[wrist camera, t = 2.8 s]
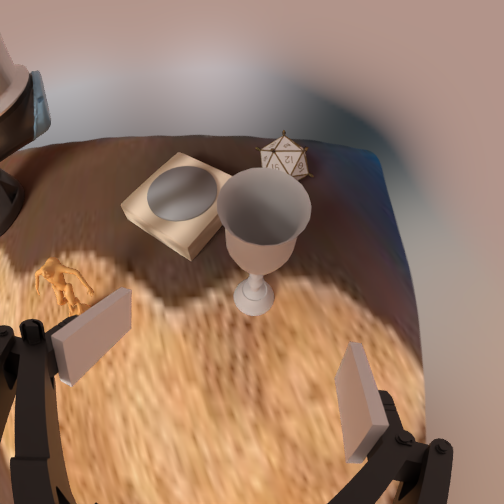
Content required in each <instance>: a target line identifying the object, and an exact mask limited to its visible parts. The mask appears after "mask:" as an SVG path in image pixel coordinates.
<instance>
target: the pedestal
mask: <svg viewBox="0 0 504 504" xmlns="http://www.w3.org/2000/svg"><path fill="white" fill-rule="evenodd" d="M231 177H233V176H231V175H228V174H226V173H224V172H222V171H220V170H218V169H216V168H214V167H211V166H209V165H207V164H205V163H203V162H200V161H198V160H196V159H194V158H192V157H189V156H187V155H185V154H183V153H180V152H178V153H177V154H176V155H175V156H173V157H172V158H171V159H170V160H169V161H168V162H166V163H165V164H164V165H163V166H162V167H161V168H160V169H158V170H157V171H156V172H155V173H154V174H153V175H152V176H151V177H149V178H148V179H147V180H146V181H145V182H144V183H143V184H142V185H141V186H140V187H139V188H137V189H136V190H135V191H134V192H133V193H132V194H131V195H130V196H129V197H128V198H127V199H126V200H125V201H124V202H123V203H122V204H121V207H122V209H123V211H124V213H125V215H126V217H127V219H128V220H130V221H131V222H133V223H134V224H136V225H137V226H139V227H140V228H142V229H143V230H144V231H146V232H147V233H149V234H150V235H152V236H153V237H155V238H156V239H158V240H159V241H161V242H162V243H164V244H165V245H167V246H168V247H170V248H171V249H173V250H174V251H176V252H178V253H179V254H181V255H182V256H184V257H185V258H187V259H188V260H190V261H191V262H192V260H193V259H194V258H195V257H196V256H197V254H198V253H199V252H200V251H201V250H202V249H203V247H204V246H205V245H206V244H207V243H208V241H209V240H210V239H211V238H212V237H213V236H214V234H215V233H216V232H217V231H218V230H219V229H220V228H221V226H222V223H221V221H220V218H219V215H218V213H217V198H218V195H219V192H220V190H221V188H222V186H223V185H224V184H225V183H226V182H227V181H228V179H229V178H231Z"/></svg>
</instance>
